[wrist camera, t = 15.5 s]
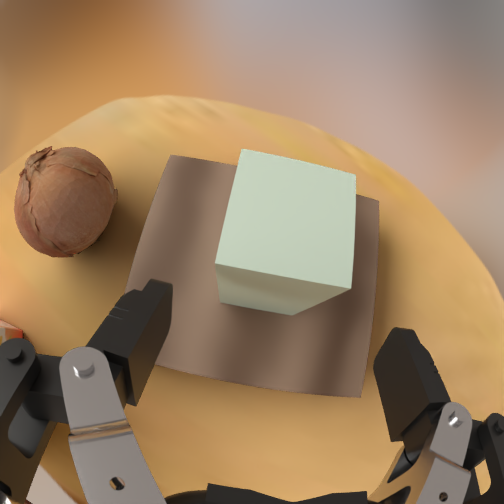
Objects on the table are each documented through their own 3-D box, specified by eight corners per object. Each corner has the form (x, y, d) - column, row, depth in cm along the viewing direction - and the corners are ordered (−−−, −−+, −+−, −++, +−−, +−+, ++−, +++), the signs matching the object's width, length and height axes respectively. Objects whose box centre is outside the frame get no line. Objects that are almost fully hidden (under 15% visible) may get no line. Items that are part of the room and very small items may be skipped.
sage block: (301, 247, 21) (355, 174, 12) (292, 315, 20) (351, 288, 10) (234, 234, 21) (241, 148, 12) (220, 302, 20) (214, 263, 10)
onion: (73, 216, 28) (19, 151, 20) (142, 186, 27) (90, 103, 19) (51, 290, 22) (-25, 222, 14) (128, 265, 21) (44, 169, 13)
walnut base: (360, 219, 27) (378, 200, 23) (340, 390, 22) (360, 397, 18) (176, 179, 27) (170, 154, 23) (128, 349, 22) (111, 350, 18)
